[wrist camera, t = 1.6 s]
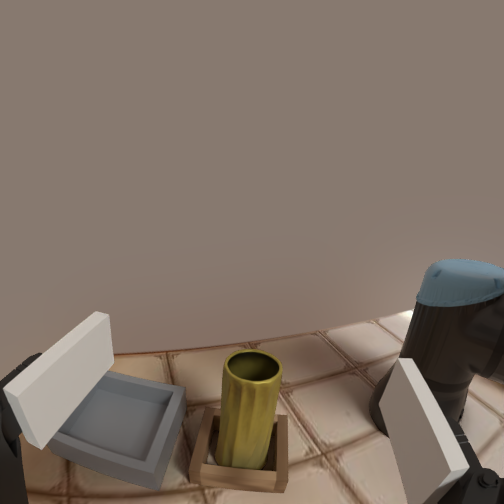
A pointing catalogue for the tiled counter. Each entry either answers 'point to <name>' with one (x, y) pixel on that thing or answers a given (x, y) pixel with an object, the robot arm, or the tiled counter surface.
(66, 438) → the tray
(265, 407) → the vase
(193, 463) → the socket
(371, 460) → the tiled counter surface
